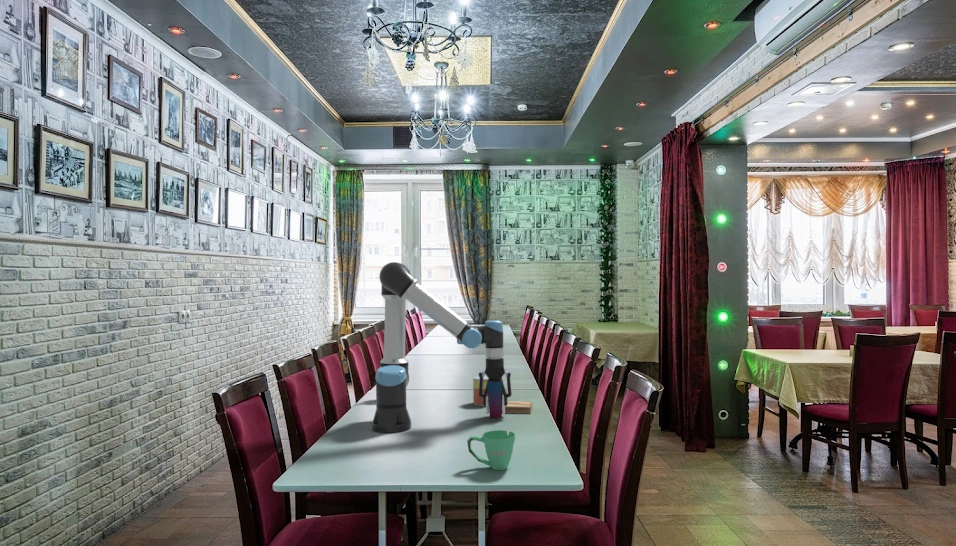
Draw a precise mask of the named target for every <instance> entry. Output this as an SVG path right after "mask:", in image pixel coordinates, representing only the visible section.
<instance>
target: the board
mask: <svg viewBox="0 0 956 546" xmlns="http://www.w3.org/2000/svg"><path fill="white" fill-rule="evenodd" d="M532 410H533V401H510V400H509V401H508V400H507V406H505V414H531V413H532Z"/></svg>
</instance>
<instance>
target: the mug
mask: <svg viewBox="0 0 956 546" xmlns="http://www.w3.org/2000/svg"><path fill="white" fill-rule="evenodd" d="M515 440H516V433H515V432H514V431H508V432H507V430H500V429H499V430H496V429H495V430H489V431H486V432H484V433H483V434H482V436H479V435H471V436H470V437H469V438H468V439H467V440H466V442H467V450H468V452H469V454H470V455H472V457H474V458H475V460H476V461H478V462H480V463H482V464H484V465H485V466H486V465H487V466H489V467H490V468H491V469H492V470H495V471H504V470H507V469H508V467H509V465H510V462H511V458H512V455H513V451H514V445H515V442H516V441H515ZM472 441H477V442H481V443H483V444H484V449H485V453H486V457H487V459H488V460H487V459H484V458H483V457H480V456H479V455H478V454H477V453H476V452H475V451H474V449H473V448H472Z"/></svg>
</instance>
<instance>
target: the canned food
mask: <svg viewBox="0 0 956 546" xmlns="http://www.w3.org/2000/svg"><path fill="white" fill-rule="evenodd" d="M487 380H488V377H487V375H484V377H483V393H484V392H485V389H486V385H487ZM479 384H480V377H479V375H476V376H473V377H472V387H473V388H472V389H473V393H472V394H473V405H474V404H475V406H477V405H478V406H479V407H486V406H485V405H484V400H483V397H481V396H479ZM487 397H488V394H487Z"/></svg>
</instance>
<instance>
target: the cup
mask: <svg viewBox="0 0 956 546" xmlns="http://www.w3.org/2000/svg"><path fill="white" fill-rule="evenodd" d="M502 383H503V384H504V380H503V379H502V381H501V382H498V381H497V380H492V381H491V382H489V381H488V380H487V386H488V401H489V413H488V415H489V418H491V419H500V418H502V416H503V414H502V398H503V397H504V396H503V393H502Z"/></svg>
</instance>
